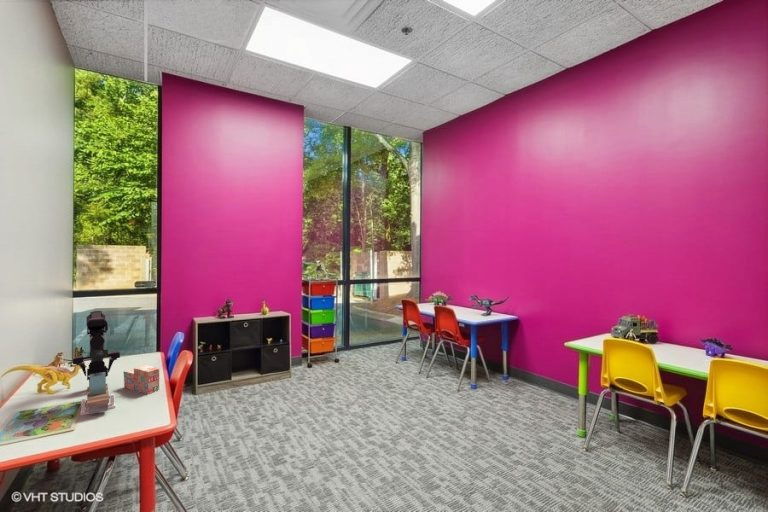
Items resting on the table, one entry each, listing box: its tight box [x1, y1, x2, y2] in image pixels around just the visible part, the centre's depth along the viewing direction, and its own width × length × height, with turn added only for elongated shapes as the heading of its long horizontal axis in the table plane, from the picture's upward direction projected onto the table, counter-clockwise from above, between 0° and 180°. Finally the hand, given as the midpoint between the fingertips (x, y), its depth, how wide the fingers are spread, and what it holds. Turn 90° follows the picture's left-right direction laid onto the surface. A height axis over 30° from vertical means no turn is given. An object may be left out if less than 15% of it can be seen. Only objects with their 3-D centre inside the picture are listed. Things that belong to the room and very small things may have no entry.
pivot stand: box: [80, 393, 116, 416], centre depth 176 cm, size 5×13×6 cm, turn 129°
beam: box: [85, 383, 111, 415], centre depth 179 cm, size 25×9×5 cm, turn 39°
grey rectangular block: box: [90, 372, 107, 396], centre depth 178 cm, size 5×6×9 cm
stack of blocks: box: [123, 364, 160, 395], centre depth 202 cm, size 21×6×12 cm, turn 65°
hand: (97, 374), depth 187 cm, fingers open, 9 cm apart
